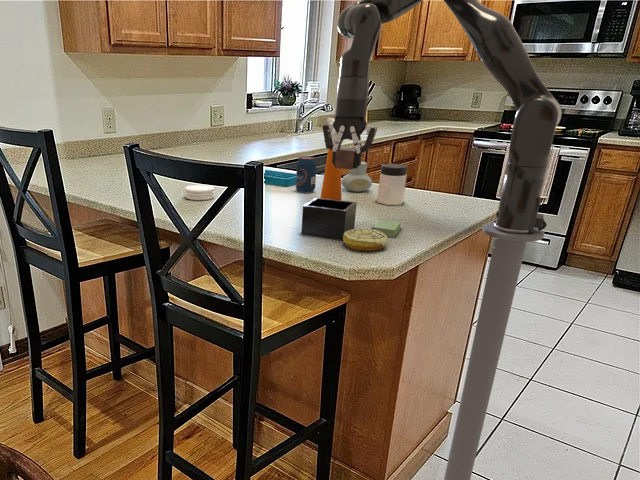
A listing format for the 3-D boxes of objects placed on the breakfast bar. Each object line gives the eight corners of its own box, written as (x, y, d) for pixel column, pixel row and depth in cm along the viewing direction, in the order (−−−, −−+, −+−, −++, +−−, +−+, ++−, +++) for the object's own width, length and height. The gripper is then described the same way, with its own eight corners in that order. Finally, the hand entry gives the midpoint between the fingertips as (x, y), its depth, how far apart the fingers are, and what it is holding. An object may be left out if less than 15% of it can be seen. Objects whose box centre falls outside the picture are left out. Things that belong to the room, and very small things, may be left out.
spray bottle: (330, 197, 181) (336, 116, 171) (345, 204, 172) (352, 119, 161) (311, 198, 179) (316, 117, 169) (325, 205, 170) (331, 120, 159)
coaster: (216, 199, 176) (216, 189, 175) (187, 201, 174) (187, 191, 173) (211, 193, 185) (210, 183, 184) (183, 195, 183) (182, 184, 182)
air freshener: (367, 188, 195) (370, 160, 191) (373, 192, 188) (376, 164, 184) (338, 188, 195) (341, 160, 191) (343, 192, 187) (346, 164, 183)
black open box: (354, 230, 144) (356, 202, 141) (343, 240, 136) (346, 210, 133) (314, 224, 149) (315, 197, 146) (301, 234, 140) (302, 205, 137)
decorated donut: (393, 251, 128) (395, 236, 126) (352, 254, 126) (354, 239, 124) (375, 238, 137) (376, 225, 135) (336, 241, 135) (337, 227, 133)
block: (357, 166, 137) (358, 148, 135) (352, 169, 133) (354, 151, 131) (340, 165, 139) (341, 147, 137) (334, 167, 135) (336, 149, 133)
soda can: (291, 191, 190) (293, 157, 185) (304, 188, 194) (306, 155, 189) (306, 194, 185) (308, 159, 180) (318, 191, 189) (321, 157, 184)
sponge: (378, 226, 148) (379, 219, 148) (400, 228, 146) (401, 221, 145) (371, 234, 141) (372, 227, 140) (393, 237, 139) (394, 230, 138)
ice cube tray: (286, 187, 195) (287, 179, 194) (244, 180, 207) (244, 173, 206) (303, 182, 204) (303, 174, 203) (261, 176, 215) (261, 168, 214)
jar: (371, 201, 176) (375, 164, 171) (387, 198, 180) (391, 162, 175) (392, 206, 169) (397, 169, 164) (408, 203, 173) (414, 166, 168)
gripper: (384, 97, 129) (376, 167, 136) (329, 95, 135) (324, 162, 142) (377, 98, 123) (369, 172, 130) (319, 96, 129) (315, 166, 136)
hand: (345, 166), depth 136 cm, fingers closed on block, 4 cm apart
